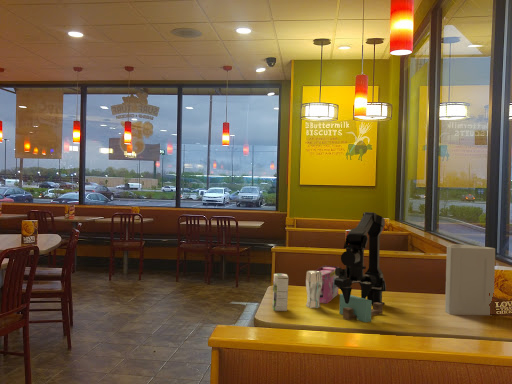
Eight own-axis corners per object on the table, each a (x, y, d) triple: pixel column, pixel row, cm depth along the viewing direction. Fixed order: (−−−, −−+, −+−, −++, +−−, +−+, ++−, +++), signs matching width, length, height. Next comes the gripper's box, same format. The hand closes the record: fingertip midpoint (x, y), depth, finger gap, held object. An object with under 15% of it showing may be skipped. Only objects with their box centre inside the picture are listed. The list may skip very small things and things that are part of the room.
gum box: (326, 304, 198) (327, 273, 198) (309, 302, 201) (310, 272, 201) (338, 294, 220) (339, 266, 220) (322, 292, 223) (323, 265, 223)
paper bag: (475, 306, 203) (477, 244, 203) (494, 315, 188) (496, 248, 188) (434, 305, 202) (435, 243, 202) (449, 314, 187) (451, 247, 187)
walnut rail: (376, 311, 187) (376, 302, 187) (382, 313, 185) (382, 303, 185) (342, 318, 176) (343, 307, 176) (348, 320, 173) (348, 309, 173)
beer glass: (320, 309, 189) (321, 273, 189) (304, 307, 190) (305, 272, 190) (321, 305, 196) (322, 271, 196) (305, 303, 197) (306, 269, 197)
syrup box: (271, 307, 189) (272, 273, 189) (285, 307, 189) (286, 273, 190) (273, 311, 183) (274, 275, 183) (287, 311, 184) (288, 276, 184)
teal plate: (339, 313, 182) (339, 294, 182) (344, 312, 184) (345, 293, 184) (365, 322, 171) (366, 301, 171) (371, 321, 173) (371, 300, 173)
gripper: (357, 258, 190) (356, 295, 189) (324, 261, 179) (323, 300, 179) (377, 262, 180) (376, 301, 180) (345, 265, 170) (344, 306, 170)
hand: (355, 302), depth 178 cm, fingers open, 9 cm apart
